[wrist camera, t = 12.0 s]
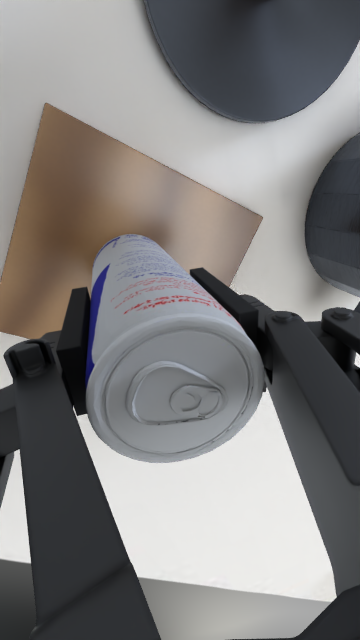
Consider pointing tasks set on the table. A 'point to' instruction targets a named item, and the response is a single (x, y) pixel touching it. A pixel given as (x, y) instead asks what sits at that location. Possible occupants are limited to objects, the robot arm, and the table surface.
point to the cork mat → (105, 220)
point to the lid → (256, 51)
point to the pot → (337, 221)
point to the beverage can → (163, 358)
